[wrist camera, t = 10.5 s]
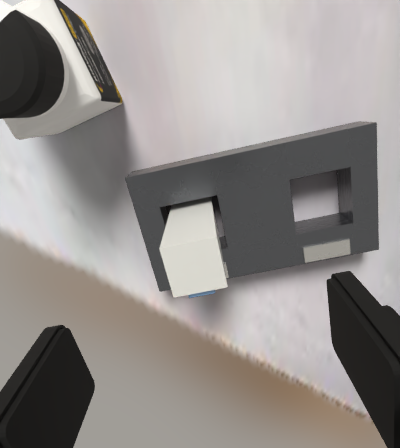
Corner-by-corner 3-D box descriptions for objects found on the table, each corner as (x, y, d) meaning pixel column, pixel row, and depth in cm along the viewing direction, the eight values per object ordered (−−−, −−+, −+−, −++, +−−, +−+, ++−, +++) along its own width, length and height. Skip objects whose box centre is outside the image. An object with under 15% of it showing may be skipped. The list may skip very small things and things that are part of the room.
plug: (210, 195, 31) (216, 236, 21) (219, 236, 32) (229, 294, 22) (172, 203, 31) (159, 248, 21) (182, 243, 33) (175, 304, 22)
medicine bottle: (124, 103, 28) (75, 97, 17) (57, 134, 29) (-33, 149, 18) (85, 18, 26) (-4, -55, 14) (13, 56, 27) (-123, 15, 15)
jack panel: (358, 121, 29) (377, 122, 26) (363, 237, 33) (379, 250, 30) (131, 171, 30) (124, 178, 27) (162, 276, 34) (159, 292, 31)
